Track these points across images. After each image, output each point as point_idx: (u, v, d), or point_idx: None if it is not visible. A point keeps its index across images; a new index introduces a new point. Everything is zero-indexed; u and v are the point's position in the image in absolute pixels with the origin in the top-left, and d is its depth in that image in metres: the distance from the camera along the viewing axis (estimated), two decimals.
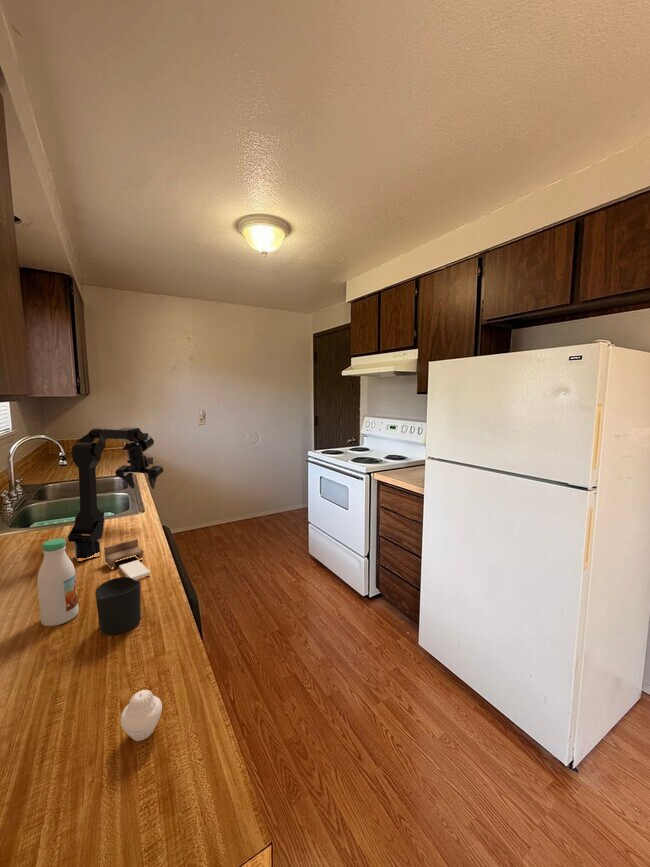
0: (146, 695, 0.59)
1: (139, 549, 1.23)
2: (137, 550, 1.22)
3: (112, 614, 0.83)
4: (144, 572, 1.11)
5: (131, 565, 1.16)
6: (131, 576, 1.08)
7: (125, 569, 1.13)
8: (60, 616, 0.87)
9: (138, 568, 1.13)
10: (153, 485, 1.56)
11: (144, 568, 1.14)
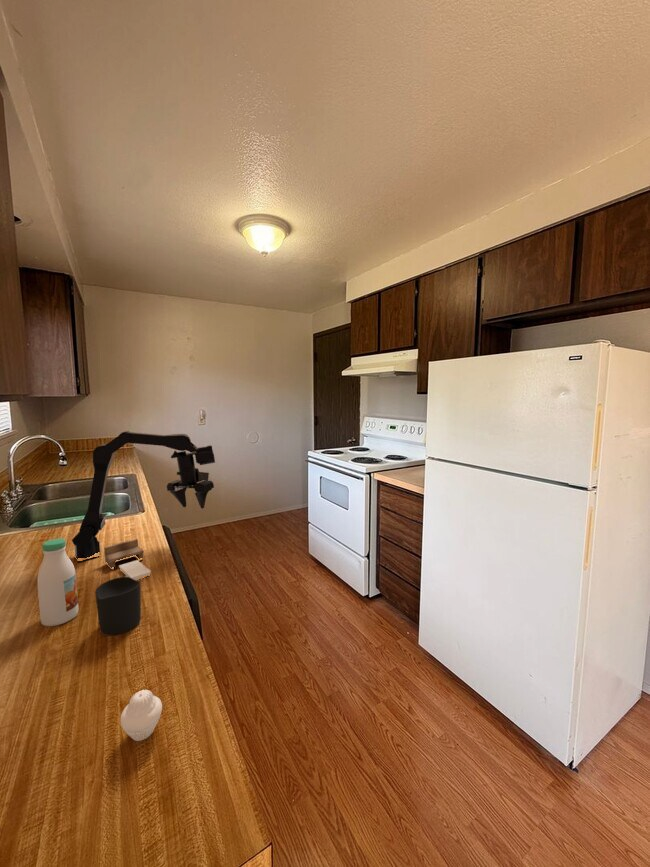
0: (146, 695, 0.59)
1: (139, 549, 1.23)
2: (137, 550, 1.22)
3: (112, 614, 0.83)
4: (144, 572, 1.11)
5: (131, 565, 1.15)
6: (131, 576, 1.08)
7: (125, 569, 1.13)
8: (60, 616, 0.87)
9: (138, 568, 1.14)
10: (202, 504, 1.33)
11: (144, 567, 1.14)
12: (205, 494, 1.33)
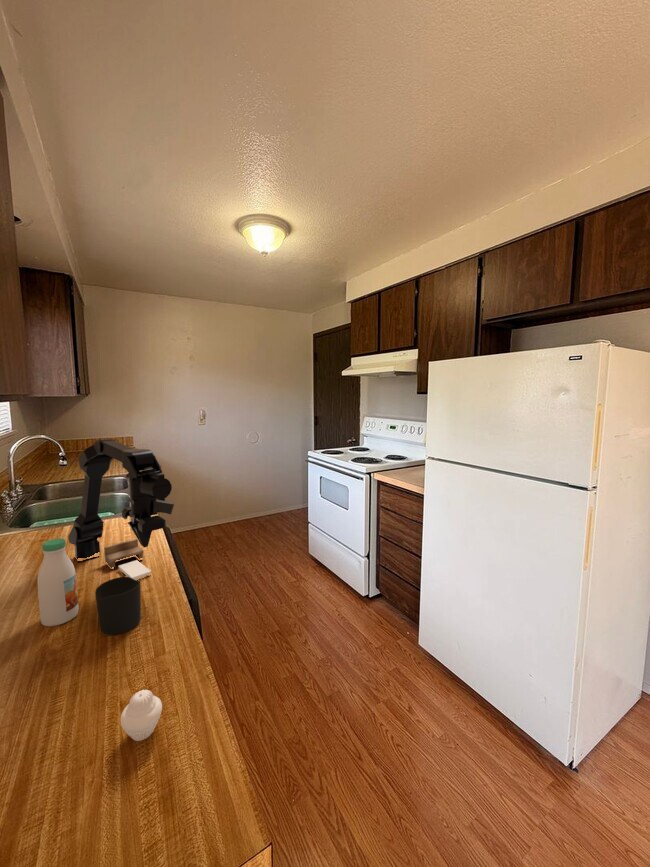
0: (146, 695, 0.59)
1: (139, 549, 1.23)
2: (137, 550, 1.22)
3: (112, 614, 0.83)
4: (145, 572, 1.11)
5: (130, 565, 1.15)
6: (132, 576, 1.08)
7: (125, 569, 1.13)
8: (60, 616, 0.87)
9: (138, 568, 1.14)
10: (144, 542, 1.03)
11: (144, 567, 1.14)
12: (149, 530, 1.03)
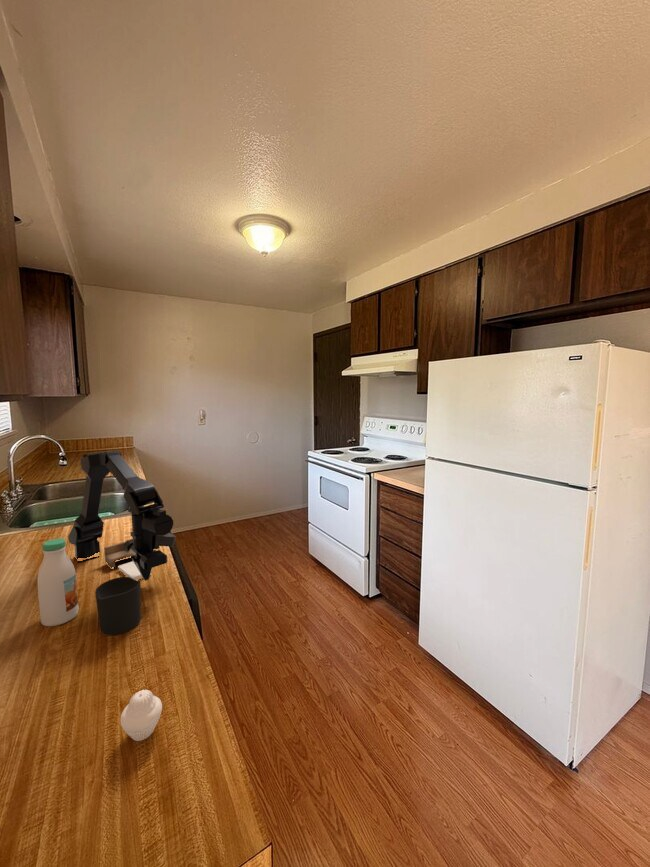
0: (146, 695, 0.59)
1: None
2: None
3: (112, 614, 0.83)
4: None
5: (130, 565, 1.15)
6: (132, 576, 1.09)
7: (125, 569, 1.13)
8: (60, 616, 0.87)
9: None
10: (145, 575, 1.05)
11: None
12: None
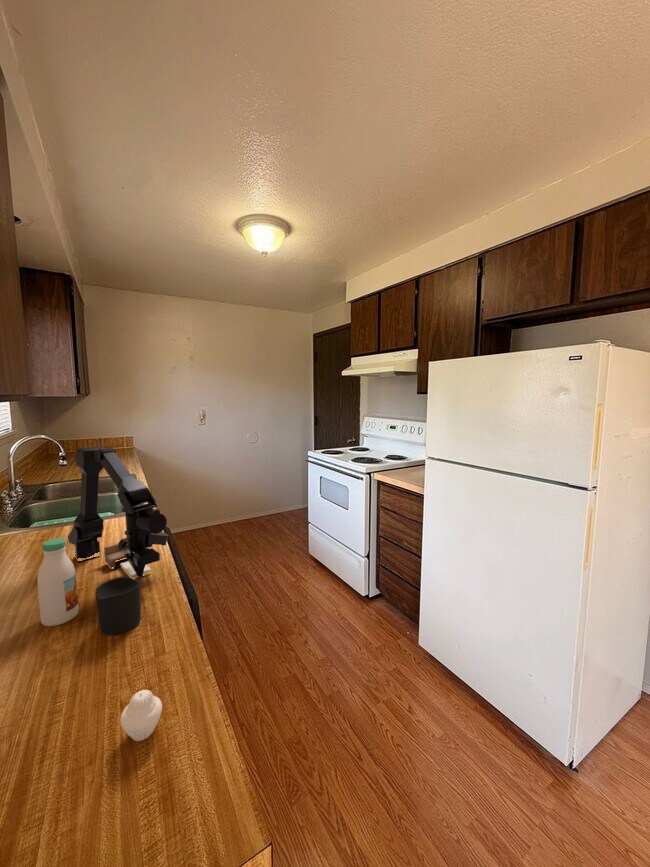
0: (146, 695, 0.59)
1: None
2: None
3: (112, 614, 0.83)
4: (144, 570, 1.12)
5: None
6: (132, 573, 1.10)
7: (126, 567, 1.14)
8: (60, 616, 0.87)
9: None
10: (138, 572, 1.09)
11: None
12: None
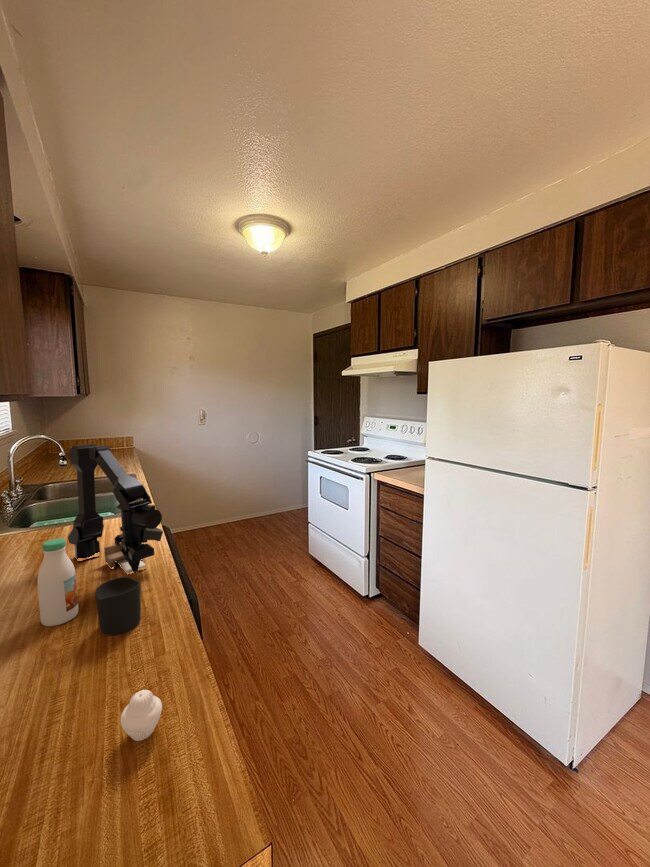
0: (146, 695, 0.59)
1: None
2: None
3: (112, 614, 0.83)
4: (140, 565, 1.15)
5: None
6: (127, 569, 1.13)
7: (122, 562, 1.17)
8: (60, 616, 0.87)
9: None
10: (134, 567, 1.12)
11: (140, 561, 1.18)
12: None
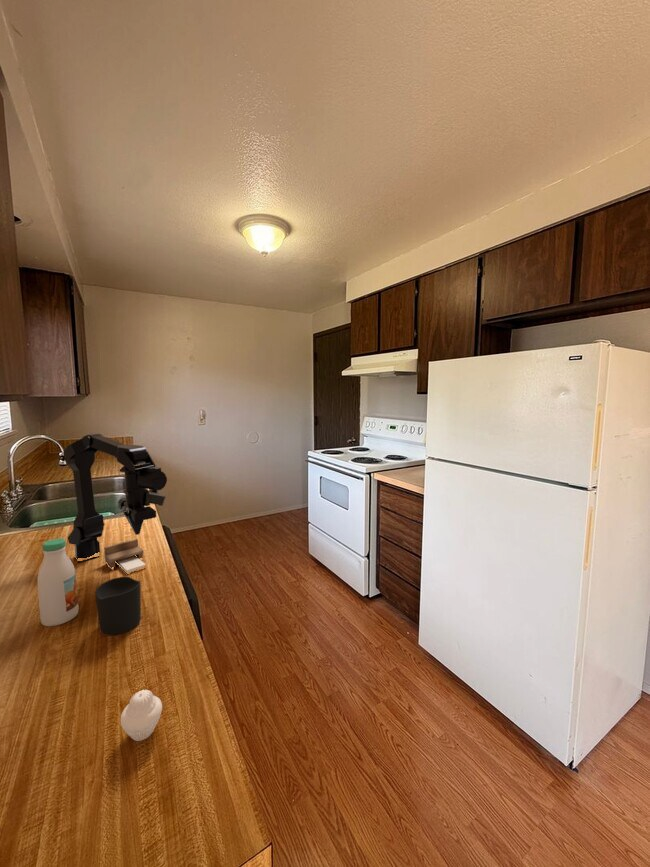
0: (146, 695, 0.59)
1: (139, 549, 1.23)
2: (137, 550, 1.22)
3: (112, 614, 0.83)
4: (139, 565, 1.16)
5: (126, 558, 1.20)
6: (127, 568, 1.13)
7: (121, 562, 1.18)
8: (60, 616, 0.87)
9: (133, 561, 1.18)
10: (136, 529, 1.13)
11: (139, 561, 1.19)
12: (141, 519, 1.14)
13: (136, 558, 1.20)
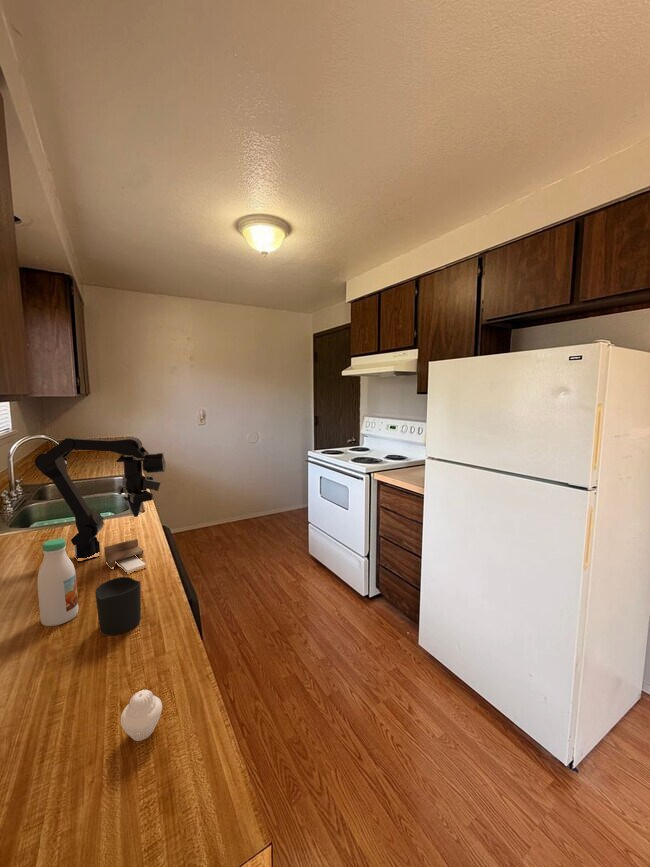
0: (146, 695, 0.59)
1: (139, 549, 1.23)
2: (137, 550, 1.22)
3: (112, 614, 0.83)
4: (140, 564, 1.16)
5: (126, 558, 1.20)
6: (127, 568, 1.13)
7: (121, 562, 1.17)
8: (60, 616, 0.87)
9: (133, 561, 1.18)
10: (134, 512, 1.27)
11: (139, 561, 1.19)
12: (139, 503, 1.27)
13: (136, 558, 1.20)
